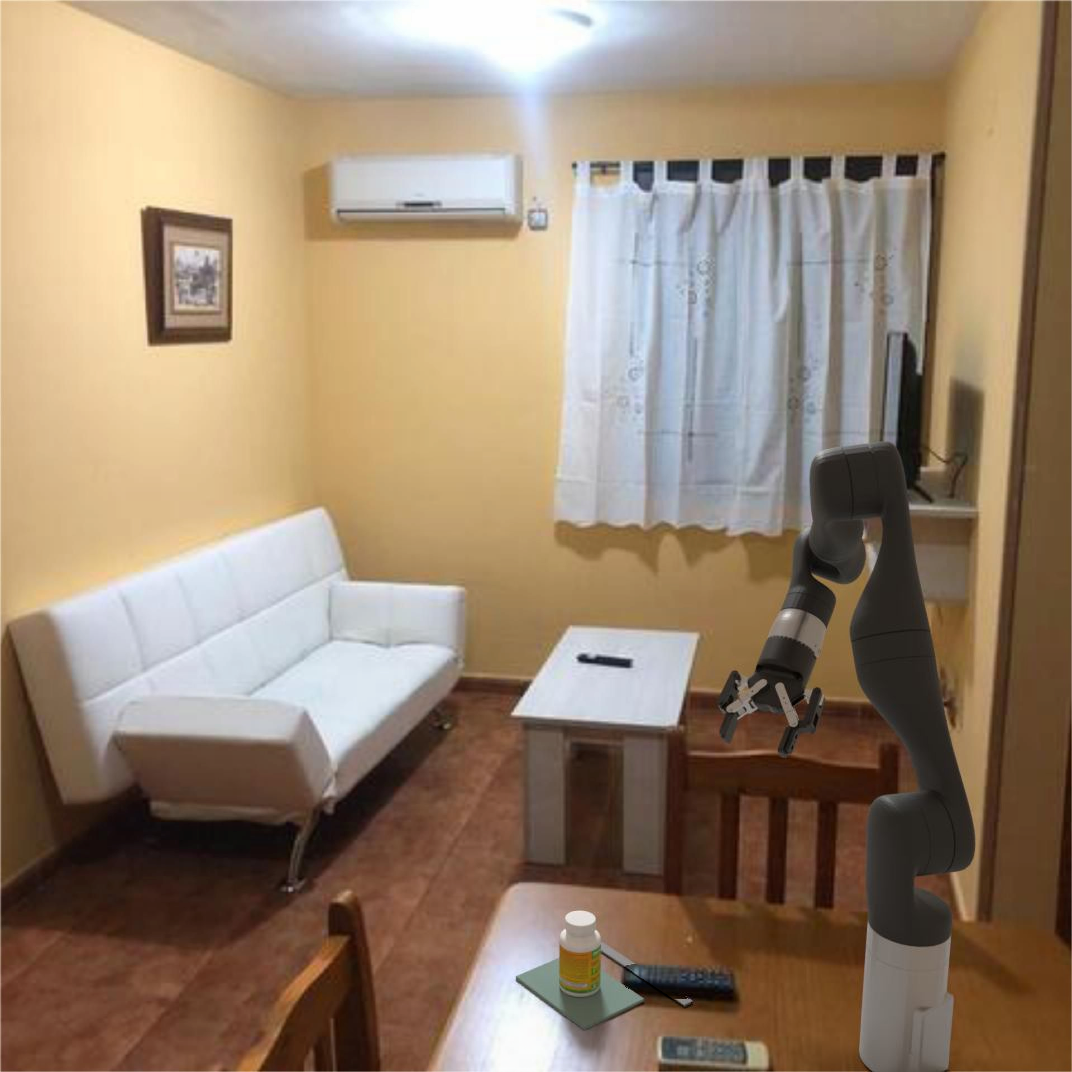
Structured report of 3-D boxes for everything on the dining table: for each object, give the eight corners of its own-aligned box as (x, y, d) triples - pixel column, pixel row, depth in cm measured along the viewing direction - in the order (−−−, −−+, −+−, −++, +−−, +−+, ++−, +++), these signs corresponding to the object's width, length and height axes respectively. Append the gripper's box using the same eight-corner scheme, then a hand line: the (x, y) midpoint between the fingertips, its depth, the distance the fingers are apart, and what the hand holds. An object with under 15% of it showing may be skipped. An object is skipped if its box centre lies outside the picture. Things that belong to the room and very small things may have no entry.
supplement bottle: (597, 1000, 148) (598, 931, 146) (555, 995, 149) (556, 926, 147) (603, 977, 153) (604, 909, 151) (563, 972, 154) (563, 905, 152)
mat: (643, 1001, 149) (643, 998, 148) (584, 1030, 143) (584, 1027, 142) (573, 954, 159) (574, 951, 159) (515, 979, 153) (515, 976, 153)
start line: (692, 1002, 148) (692, 1000, 148) (684, 1007, 147) (684, 1004, 147) (581, 930, 165) (581, 928, 165) (573, 934, 164) (573, 932, 164)
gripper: (739, 626, 167) (697, 723, 160) (833, 642, 159) (794, 746, 152) (754, 653, 172) (714, 748, 165) (846, 670, 164) (808, 772, 157)
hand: (752, 747), depth 159 cm, fingers open, 8 cm apart
